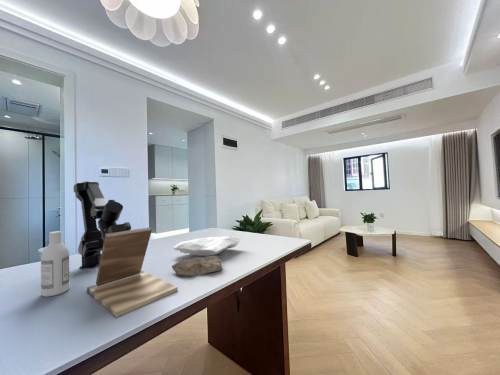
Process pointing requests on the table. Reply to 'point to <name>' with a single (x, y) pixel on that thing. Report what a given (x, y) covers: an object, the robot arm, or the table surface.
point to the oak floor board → (131, 292)
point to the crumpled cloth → (207, 245)
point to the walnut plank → (122, 255)
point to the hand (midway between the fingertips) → (121, 263)
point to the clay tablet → (197, 266)
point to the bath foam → (54, 267)
